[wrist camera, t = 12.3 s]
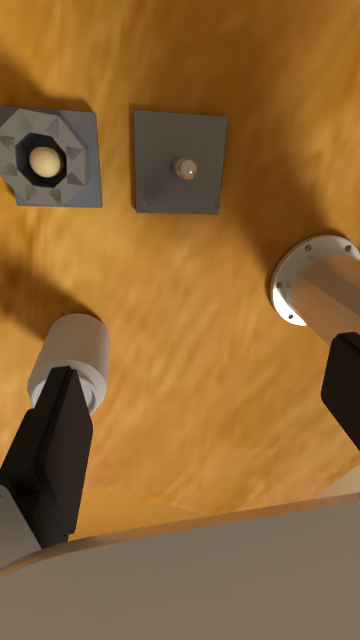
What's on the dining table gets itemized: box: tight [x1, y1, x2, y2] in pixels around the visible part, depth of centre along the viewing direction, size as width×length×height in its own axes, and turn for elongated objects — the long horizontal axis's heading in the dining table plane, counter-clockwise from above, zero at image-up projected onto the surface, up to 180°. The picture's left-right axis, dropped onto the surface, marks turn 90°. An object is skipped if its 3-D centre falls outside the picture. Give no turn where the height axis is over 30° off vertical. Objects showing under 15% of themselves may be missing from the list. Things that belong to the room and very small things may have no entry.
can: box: [27, 313, 110, 415], centre depth 34 cm, size 8×8×12 cm
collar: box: [0, 109, 90, 207], centre depth 26 cm, size 7×7×4 cm
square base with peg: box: [0, 106, 103, 208], centre depth 26 cm, size 8×8×6 cm
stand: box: [134, 110, 228, 214], centre depth 28 cm, size 9×9×6 cm
